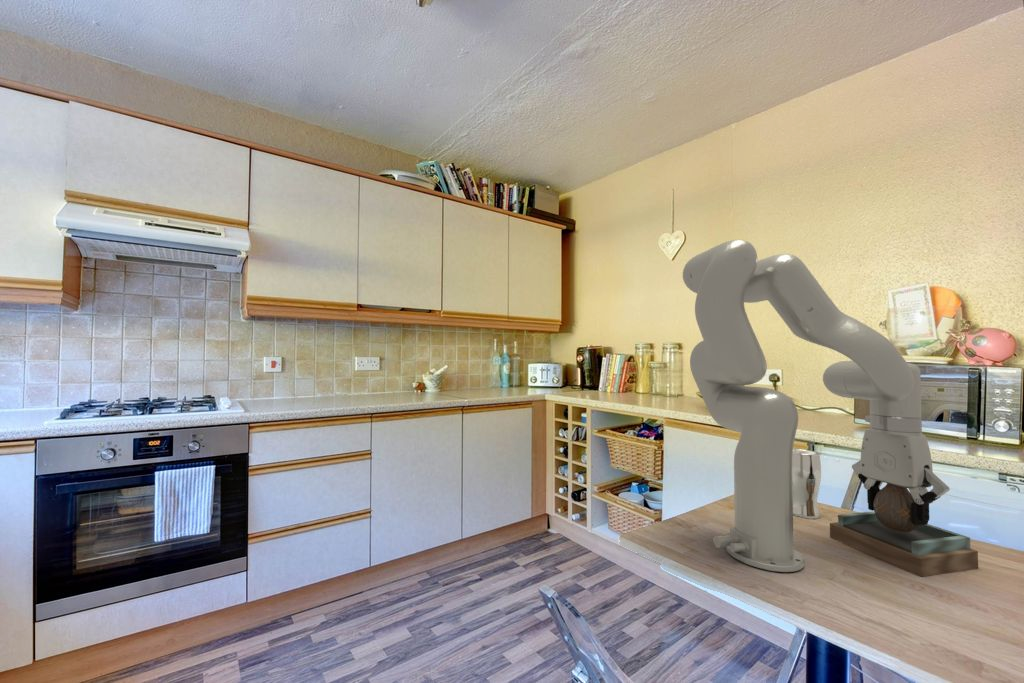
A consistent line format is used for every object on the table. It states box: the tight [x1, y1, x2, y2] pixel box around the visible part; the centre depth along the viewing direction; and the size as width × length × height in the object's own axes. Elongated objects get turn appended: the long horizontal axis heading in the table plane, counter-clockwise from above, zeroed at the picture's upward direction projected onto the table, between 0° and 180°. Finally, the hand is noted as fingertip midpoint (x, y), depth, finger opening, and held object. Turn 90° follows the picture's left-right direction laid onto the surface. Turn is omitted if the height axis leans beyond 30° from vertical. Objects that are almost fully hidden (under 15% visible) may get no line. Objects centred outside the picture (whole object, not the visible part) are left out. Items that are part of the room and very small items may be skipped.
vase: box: [873, 483, 919, 532], centre depth 81 cm, size 7×7×9 cm
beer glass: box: [792, 448, 822, 520], centre depth 101 cm, size 7×7×15 cm
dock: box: [829, 510, 979, 577], centre depth 81 cm, size 14×16×5 cm
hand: (896, 515), depth 81 cm, fingers closed on vase, 6 cm apart
